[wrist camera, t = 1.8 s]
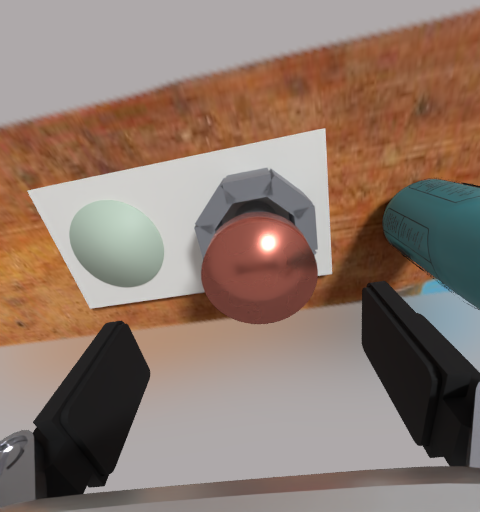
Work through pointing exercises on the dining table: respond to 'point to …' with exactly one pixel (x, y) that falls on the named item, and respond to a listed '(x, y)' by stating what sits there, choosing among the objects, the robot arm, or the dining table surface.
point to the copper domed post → (259, 266)
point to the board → (181, 215)
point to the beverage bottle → (439, 232)
